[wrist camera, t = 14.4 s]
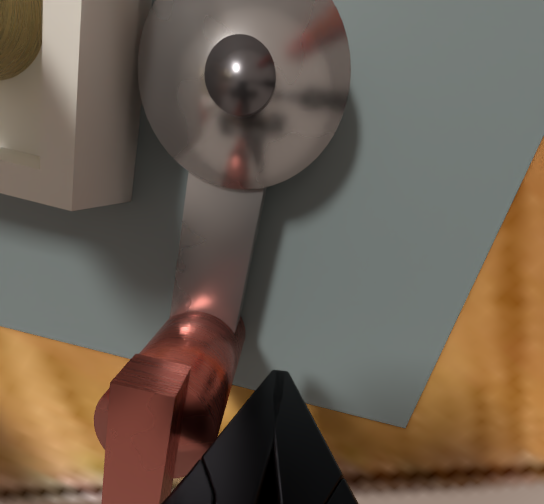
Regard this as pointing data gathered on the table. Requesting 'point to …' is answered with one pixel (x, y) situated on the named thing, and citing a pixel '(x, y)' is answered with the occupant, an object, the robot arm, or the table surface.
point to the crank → (216, 208)
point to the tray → (75, 107)
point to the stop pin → (19, 35)
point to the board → (323, 216)
